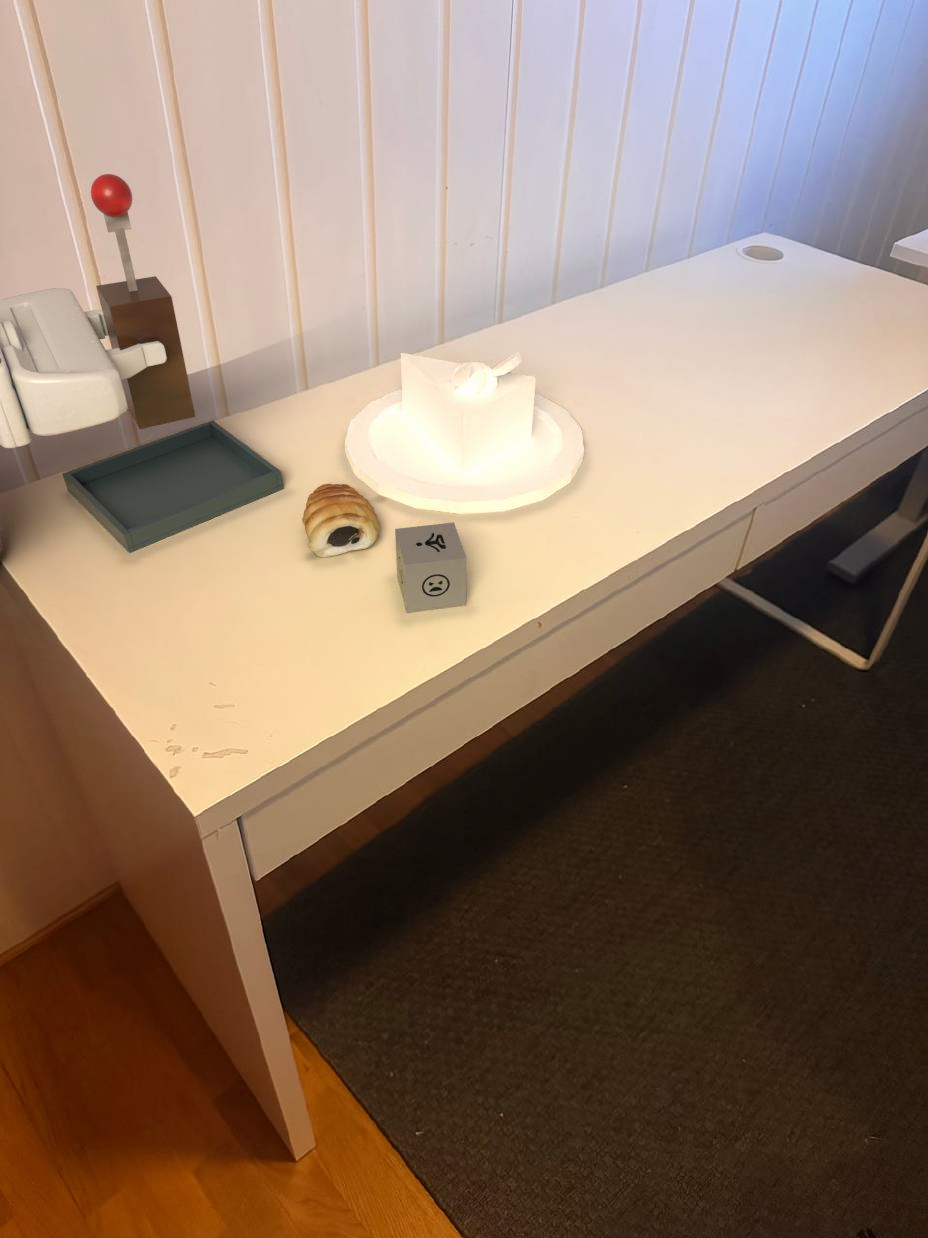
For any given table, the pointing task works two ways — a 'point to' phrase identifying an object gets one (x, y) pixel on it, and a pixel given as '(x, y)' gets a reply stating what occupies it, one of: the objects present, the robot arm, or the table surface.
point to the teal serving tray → (172, 484)
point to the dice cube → (431, 567)
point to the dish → (464, 439)
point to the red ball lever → (141, 320)
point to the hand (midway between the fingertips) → (154, 335)
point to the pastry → (339, 520)
